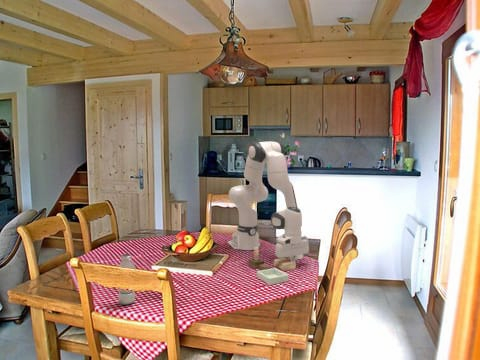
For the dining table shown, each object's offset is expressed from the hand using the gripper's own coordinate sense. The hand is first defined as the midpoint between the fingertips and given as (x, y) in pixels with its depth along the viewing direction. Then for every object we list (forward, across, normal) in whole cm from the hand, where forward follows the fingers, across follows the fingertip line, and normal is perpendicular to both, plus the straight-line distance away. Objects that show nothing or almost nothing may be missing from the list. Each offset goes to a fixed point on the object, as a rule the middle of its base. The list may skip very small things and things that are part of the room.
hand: (292, 263), depth 203 cm
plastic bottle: (+2, +88, +5) cm, 88 cm away
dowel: (+1, +18, -7) cm, 20 cm away
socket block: (+2, +18, -7) cm, 20 cm away
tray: (+2, +20, +11) cm, 23 cm away
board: (+2, +5, 0) cm, 6 cm away
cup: (+2, -11, -13) cm, 17 cm away
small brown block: (+2, +17, 0) cm, 17 cm away
